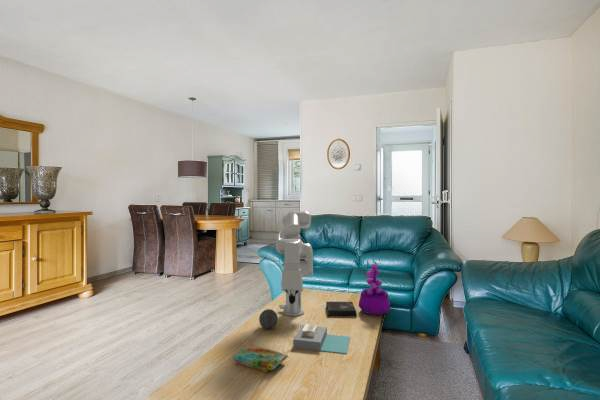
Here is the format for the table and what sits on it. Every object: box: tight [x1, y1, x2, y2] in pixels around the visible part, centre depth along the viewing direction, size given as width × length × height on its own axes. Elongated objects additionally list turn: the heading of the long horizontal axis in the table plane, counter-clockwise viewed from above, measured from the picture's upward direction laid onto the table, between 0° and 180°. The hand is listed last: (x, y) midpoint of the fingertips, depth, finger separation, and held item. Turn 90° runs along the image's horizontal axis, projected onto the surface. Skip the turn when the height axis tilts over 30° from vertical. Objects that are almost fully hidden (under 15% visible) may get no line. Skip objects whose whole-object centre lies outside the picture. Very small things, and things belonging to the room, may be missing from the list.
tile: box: [302, 323, 318, 337], centre depth 162 cm, size 6×8×2 cm
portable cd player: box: [325, 301, 358, 318], centre depth 203 cm, size 16×17×4 cm
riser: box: [292, 324, 328, 352], centre depth 162 cm, size 13×18×4 cm
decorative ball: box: [258, 308, 279, 330], centre depth 178 cm, size 10×10×10 cm
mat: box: [320, 333, 351, 355], centre depth 159 cm, size 12×18×1 cm, turn 166°
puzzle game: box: [232, 344, 289, 373], centre depth 141 cm, size 12×5×20 cm
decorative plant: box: [358, 263, 391, 316], centre depth 201 cm, size 19×18×30 cm
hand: (292, 302), depth 164 cm, fingers closed
